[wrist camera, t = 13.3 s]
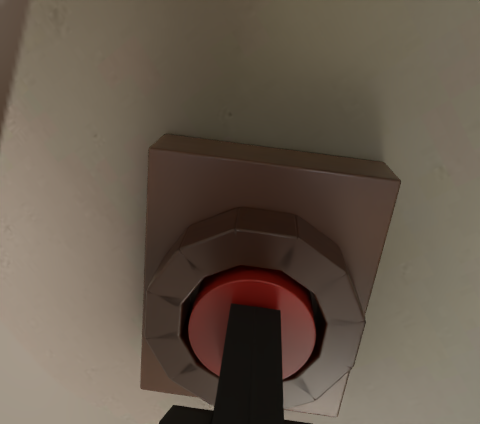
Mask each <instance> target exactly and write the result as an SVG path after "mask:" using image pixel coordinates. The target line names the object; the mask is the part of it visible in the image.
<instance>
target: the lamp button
mask: <svg viewBox="0 0 480 424" xmlns="http://www.w3.org/2000/svg"><path fill="white" fill-rule="evenodd" d="M231 303H233V304H240V305H247V306H254V307H262V308H269V309H276V310H281V341H282V374H283V379H285V378H287V377H289V376H291V375H292V374H294V373H295V372H297V371H298V370H299V369H300V368H301V367H302V366H303V365H304V364H305V363H306V362H307V360H308V359H309V357H310V355H311V353H312V351H313V349H314V345H315V340H316V327H315V320H314V313H313V307H312V300H311V294H310V291H309V290H308V289H307V288H305V287H304V286H302V285H301V284H300V283H298V282H297V281H295V280H294V279H292V278H291V277H290V276H288V275H287V274H285V273H284V272H282V271H281V270H274V269H267V268H259V267H252V266H245V265H239V266H236V267H233V268H231V269H228V270H225V271H222V272H219V273H216V274H213V275H210V276H208V277H205V278H204V279H203V280H202V282H201V283H200V286H199V289H198V292H197V295H196V299H195V302H194V305H193V309H192V312H191V315H190V319H189V325H188V334H189V340H190V343H191V346H192V348H193V351H194V353H195V354H196V356H197V357H198V359H199V360H200V361H201V362H202V363H203V365H205V366H206V367H207V368H208V369H209V370H210V371H212V372H213V373H215V374H216V375H218V376H219V375H220V369H221V362H222V356H223V350H224V343H225V337H226V331H227V324H228V318H229V312H230V306H231Z"/></svg>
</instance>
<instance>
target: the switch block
mask: <svg viewBox="0 0 480 424" xmlns="http://www.w3.org/2000/svg"><path fill="white" fill-rule="evenodd" d="M400 184H401V180H400V179H399V178H398V177H397V176H396V175H395V174H394V173H393V171H392V170H391V169H390V168H389V167H388V166H387V165H386V164H385V163H384V162H378V161H370V160H362V159H355V158H347V157H339V156H332V155H324V154H316V153H309V152H301V151H293V150H286V149H278V148H270V147H262V146H255V145H247V144H239V143H232V142H224V141H216V140H209V139H201V138H193V137H186V136H178V135H170V134H164V135H163V136H162V137H161V138H160V139H159V140H158V141H156V142H155V143H154V144H153V145H152V146H151V147H150V148H149V155H148V184H147V212H146V240H145V269H144V297H143V325H142V354H141V382H140V388H141V389H143V390H150V391H157V392H164V393H171V394H178V395H185V396H192V397H199V398H201V399H202V400H204V401H206V402H207V403H209V404H211V405H214V406H215V400H216V394H217V387H218V381H219V376H218V375H216V374H215V373H213V372H212V371H210V370H209V369H208V368H207V367H206V366H205V365H203V363H202V362H201V361H200V360H199V359H198V357H197V356H196V354H195V353H194V351H193V348H192V346H191V343H190V340H189V334H188V325H189V319H190V315H191V312H192V309H193V305H194V302H195V299H196V295H197V292H198V289H199V286H200V283H201V282H202V280H203V279H204V278H205V277H208V276H210V275H213V274H216V273H219V272H222V271H225V270H228V269H231V268H233V267H236V266H239V265H245V266H252V267H259V268H267V269H274V270H281V271H282V272H284V273H285V274H287V275H288V276H290V277H291V278H292V279H294V280H295V281H297V282H298V283H300V284H301V285H302V286H304V287H305V288H307V289H308V290H309V291H310V294H311V300H312V307H313V313H314V320H315V327H316V340H315V345H314V349H313V351H312V353H311V355H310V357H309V359H308V360H307V362H306V363H305V364H304V365H303V366H302V367H301V368H300V369H299V370H298V371H297V372H295V373H294V374H292V375H291V376H289V377H287V378H285V379H283V408H284V410H289V411H296V412H303V413H310V414H317V415H324V416H331V417H337V416H338V413H339V409H340V406H341V402H342V398H343V395H344V391H345V387H346V384H347V380H348V376H349V373H350V370H351V369H352V367H353V366H354V364H355V360H356V356H357V353H358V349H359V345H360V342H361V338H362V334H363V331H364V327H365V323H366V321H365V313H366V310H367V306H368V302H369V299H370V295H371V291H372V288H373V284H374V280H375V277H376V273H377V269H378V265H379V262H380V258H381V254H382V251H383V247H384V243H385V240H386V236H387V232H388V229H389V225H390V221H391V217H392V214H393V210H394V206H395V203H396V199H397V195H398V192H399V188H400Z"/></svg>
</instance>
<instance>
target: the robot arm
mask: <svg viewBox="0 0 480 424" xmlns="http://www.w3.org/2000/svg"><path fill="white" fill-rule="evenodd" d="M159 424H311V423H304V422H297V421H290V420H284V408H283V374H282V341H281V310H276V309H269V308H262V307H254V306H247V305H240V304H233V303H231V306H230V312H229V318H228V324H227V331H226V337H225V343H224V350H223V356H222V362H221V369H220V375H219V381H218V387H217V394H216V400H215V406H214V411H211V410H204V409H198V408H191V407H184V406H177V405H173V406H172V407H171V408H170V410H169V411H168V412H167V413H166V414H165V416H164V417H163V418H162V419H161V420H160V422H159Z"/></svg>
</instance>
